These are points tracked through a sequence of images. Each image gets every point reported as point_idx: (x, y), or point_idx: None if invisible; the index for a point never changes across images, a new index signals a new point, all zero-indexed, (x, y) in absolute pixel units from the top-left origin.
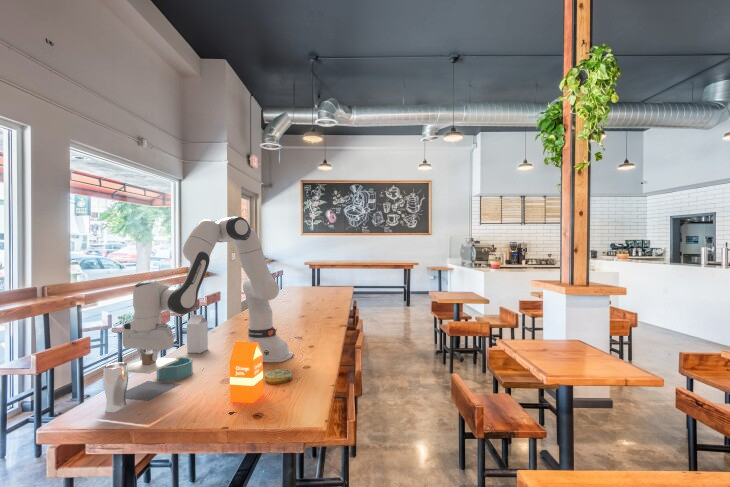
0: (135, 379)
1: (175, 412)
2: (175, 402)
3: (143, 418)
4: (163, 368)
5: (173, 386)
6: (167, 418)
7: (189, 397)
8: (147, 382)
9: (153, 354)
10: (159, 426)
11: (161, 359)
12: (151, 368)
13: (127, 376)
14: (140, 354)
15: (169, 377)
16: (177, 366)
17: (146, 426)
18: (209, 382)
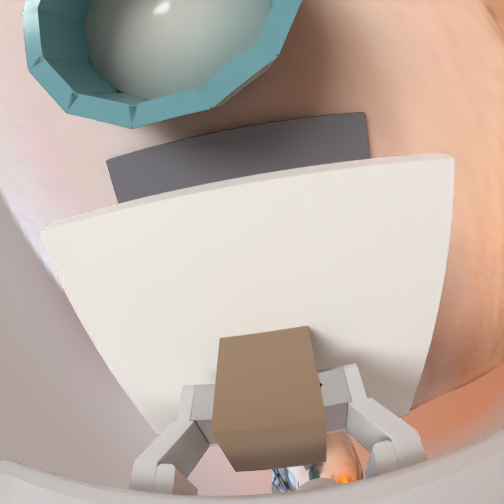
0: (18, 167)
1: (493, 317)
2: (464, 274)
3: (430, 372)
4: (178, 115)
5: (351, 159)
6: (487, 343)
7: (487, 222)
8: (129, 177)
9: (368, 444)
10: (485, 367)
11: (273, 242)
12: (385, 396)
13: (360, 473)
14: (197, 458)
15: (234, 94)
16: (282, 44)
17: (459, 381)
18: (462, 42)
